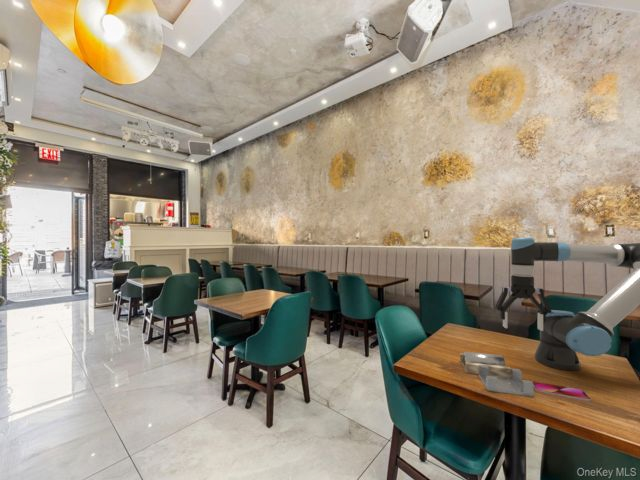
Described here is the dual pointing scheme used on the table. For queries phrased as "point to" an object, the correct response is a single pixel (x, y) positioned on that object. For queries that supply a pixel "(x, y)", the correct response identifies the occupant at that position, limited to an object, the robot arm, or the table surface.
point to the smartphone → (561, 391)
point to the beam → (492, 368)
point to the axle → (484, 358)
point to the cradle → (506, 382)
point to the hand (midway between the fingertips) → (522, 328)
